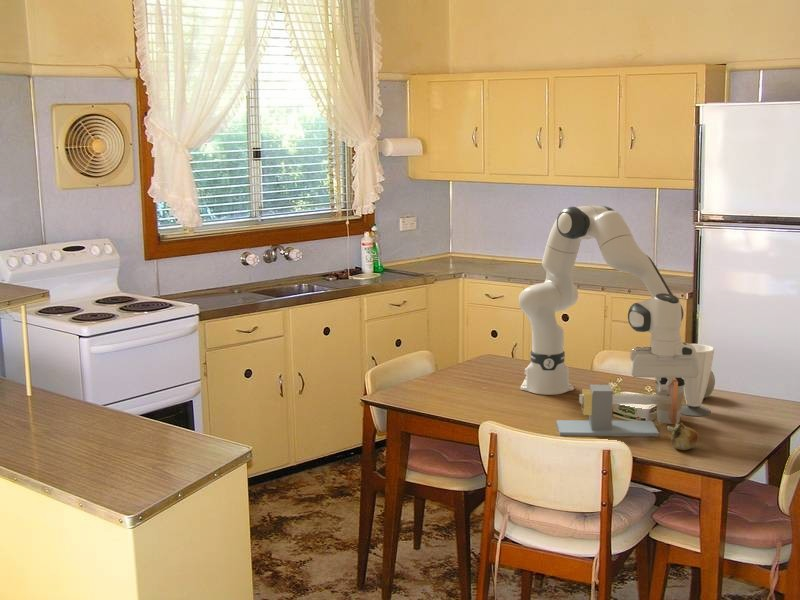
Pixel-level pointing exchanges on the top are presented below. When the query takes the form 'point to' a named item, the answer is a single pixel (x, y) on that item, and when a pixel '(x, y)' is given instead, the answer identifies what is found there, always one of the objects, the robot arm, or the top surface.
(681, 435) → the onion
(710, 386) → the fruit
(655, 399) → the shaft
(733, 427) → the top surface
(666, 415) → the coffee cup
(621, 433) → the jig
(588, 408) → the block
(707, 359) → the cup
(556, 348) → the robot arm
